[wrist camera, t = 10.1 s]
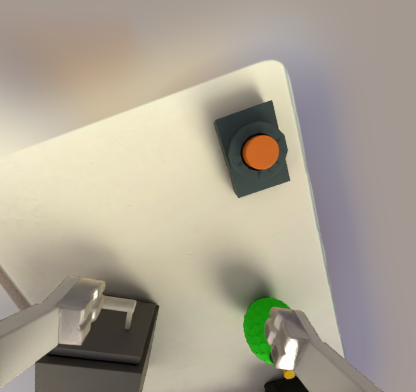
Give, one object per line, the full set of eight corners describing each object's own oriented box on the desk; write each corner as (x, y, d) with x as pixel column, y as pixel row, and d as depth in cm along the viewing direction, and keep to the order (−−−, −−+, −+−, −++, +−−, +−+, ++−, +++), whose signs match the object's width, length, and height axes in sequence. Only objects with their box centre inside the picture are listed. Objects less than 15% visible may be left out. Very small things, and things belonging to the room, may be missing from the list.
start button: (238, 142, 22) (241, 141, 20) (268, 131, 22) (274, 130, 20) (247, 171, 23) (251, 174, 21) (276, 162, 22) (282, 163, 21)
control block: (213, 122, 24) (216, 118, 21) (265, 104, 24) (278, 95, 20) (235, 194, 27) (241, 202, 23) (283, 178, 27) (297, 183, 23)
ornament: (229, 301, 32) (242, 370, 22) (272, 276, 31) (305, 336, 21) (253, 332, 33) (276, 408, 24) (294, 310, 33) (334, 379, 23)
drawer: (88, 270, 28) (47, 316, 20) (159, 281, 29) (145, 328, 21) (81, 355, 32) (45, 420, 24) (144, 362, 33) (128, 427, 25)
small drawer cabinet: (85, 295, 30) (34, 362, 21) (159, 305, 31) (142, 373, 22) (80, 359, 33) (34, 442, 24) (147, 367, 34) (128, 449, 25)
